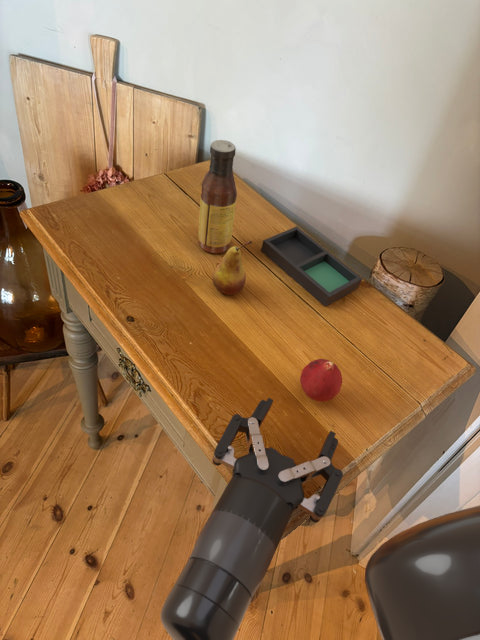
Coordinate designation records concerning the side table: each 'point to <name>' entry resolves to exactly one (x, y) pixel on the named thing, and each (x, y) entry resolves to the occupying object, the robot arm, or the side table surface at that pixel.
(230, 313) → the side table surface
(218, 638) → the robot arm
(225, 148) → the sauce bottle
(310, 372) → the onion
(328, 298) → the tray
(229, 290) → the fruit
